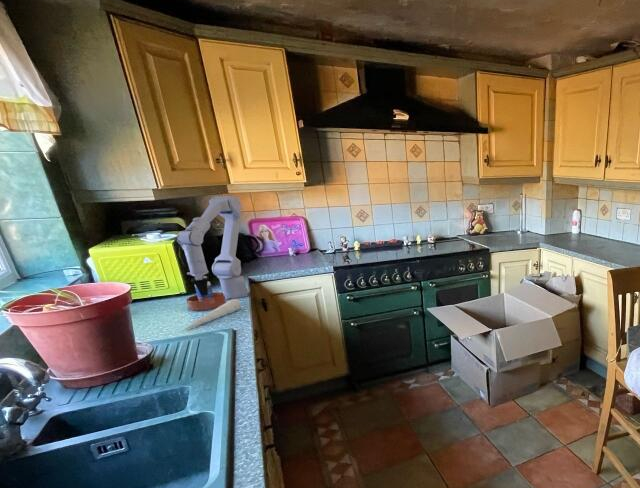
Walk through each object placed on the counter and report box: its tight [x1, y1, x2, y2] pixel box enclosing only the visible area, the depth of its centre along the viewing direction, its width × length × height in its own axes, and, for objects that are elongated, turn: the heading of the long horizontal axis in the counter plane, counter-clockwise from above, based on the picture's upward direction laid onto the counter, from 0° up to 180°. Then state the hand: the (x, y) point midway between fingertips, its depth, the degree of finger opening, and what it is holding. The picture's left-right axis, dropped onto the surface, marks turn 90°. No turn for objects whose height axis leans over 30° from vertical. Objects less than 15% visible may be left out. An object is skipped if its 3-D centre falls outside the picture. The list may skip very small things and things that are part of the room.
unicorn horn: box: [185, 298, 242, 330], centre depth 161 cm, size 5×24×5 cm, turn 165°
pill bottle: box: [194, 276, 214, 301], centre depth 173 cm, size 6×5×10 cm
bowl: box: [186, 291, 227, 312], centre depth 175 cm, size 13×13×4 cm
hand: (205, 293), depth 174 cm, fingers closed on pill bottle, 5 cm apart
